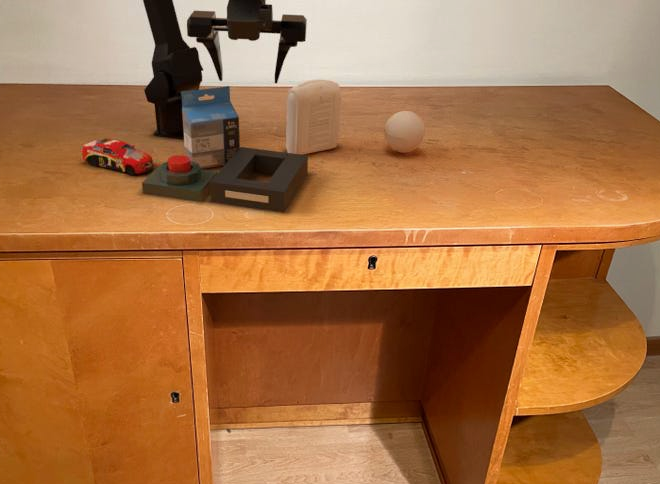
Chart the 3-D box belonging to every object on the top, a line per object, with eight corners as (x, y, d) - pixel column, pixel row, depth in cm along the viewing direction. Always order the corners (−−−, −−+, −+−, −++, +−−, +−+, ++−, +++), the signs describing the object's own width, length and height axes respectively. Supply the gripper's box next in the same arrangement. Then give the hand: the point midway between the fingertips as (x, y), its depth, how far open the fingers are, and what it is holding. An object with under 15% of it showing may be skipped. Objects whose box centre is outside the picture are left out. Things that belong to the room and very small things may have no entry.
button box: (142, 193, 114) (140, 173, 111) (162, 174, 120) (160, 154, 118) (201, 202, 112) (200, 181, 110) (218, 182, 118) (217, 162, 116)
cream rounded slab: (327, 140, 134) (331, 73, 127) (341, 148, 131) (345, 79, 124) (282, 150, 130) (282, 81, 122) (294, 158, 127) (296, 88, 119)
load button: (165, 172, 113) (164, 162, 112) (173, 164, 116) (172, 153, 114) (186, 175, 112) (185, 165, 111) (194, 167, 115) (193, 156, 114)
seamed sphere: (413, 142, 135) (418, 104, 130) (427, 157, 129) (433, 117, 125) (363, 145, 133) (367, 106, 128) (375, 161, 127) (379, 120, 123)
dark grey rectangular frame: (210, 202, 112) (209, 182, 110) (241, 166, 124) (240, 146, 121) (283, 213, 110) (283, 192, 107) (307, 174, 121) (308, 155, 119)
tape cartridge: (193, 171, 121) (187, 98, 113) (185, 163, 124) (179, 91, 116) (240, 163, 124) (238, 92, 117) (232, 155, 127) (229, 85, 119)
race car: (160, 168, 122) (158, 146, 119) (140, 179, 118) (138, 156, 115) (99, 152, 126) (96, 130, 124) (79, 162, 122) (75, 140, 120)
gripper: (177, -16, 102) (185, 94, 112) (306, -10, 102) (302, 99, 111) (189, -30, 111) (195, 73, 120) (308, -25, 111) (304, 78, 120)
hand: (248, 81), depth 118 cm, fingers open, 9 cm apart
